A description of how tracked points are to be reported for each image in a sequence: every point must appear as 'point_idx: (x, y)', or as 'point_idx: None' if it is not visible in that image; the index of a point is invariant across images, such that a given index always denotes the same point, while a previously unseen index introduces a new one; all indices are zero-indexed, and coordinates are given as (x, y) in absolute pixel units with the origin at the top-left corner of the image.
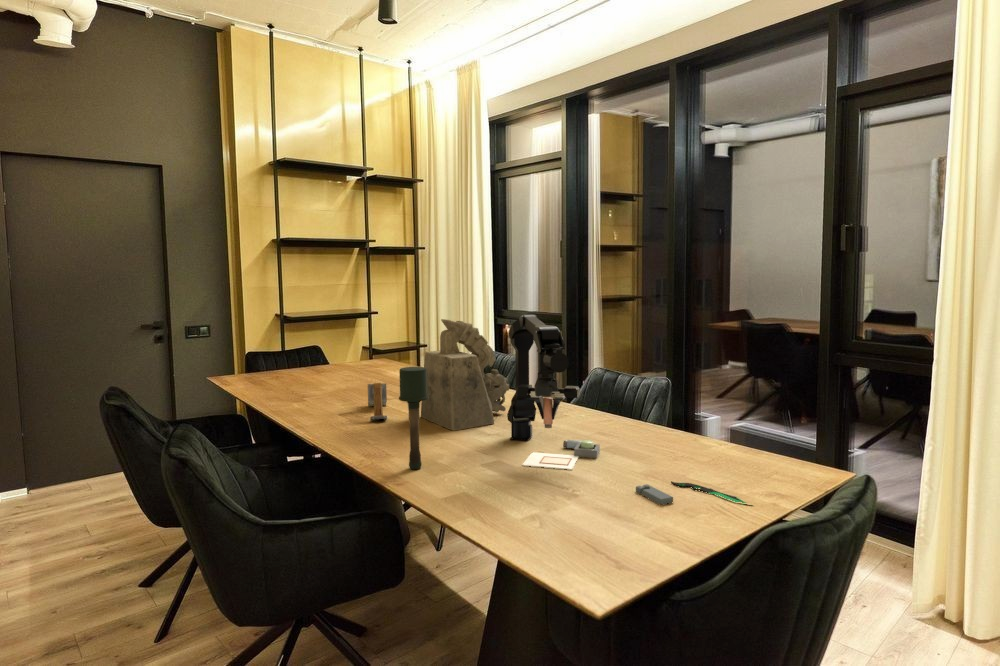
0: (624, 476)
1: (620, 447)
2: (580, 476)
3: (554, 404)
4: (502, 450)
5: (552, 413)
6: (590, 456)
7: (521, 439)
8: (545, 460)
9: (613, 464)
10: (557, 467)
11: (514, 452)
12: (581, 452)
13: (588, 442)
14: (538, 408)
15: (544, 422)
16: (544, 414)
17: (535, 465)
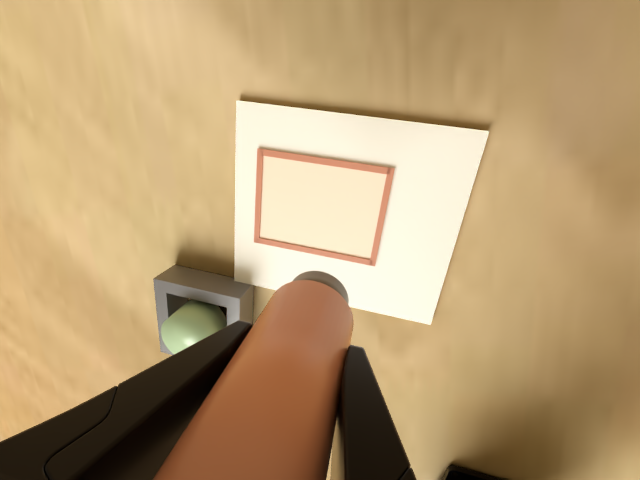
0: (38, 52)
1: (132, 375)
2: (190, 8)
3: (40, 474)
4: (581, 366)
5: (208, 360)
6: (192, 272)
7: (478, 476)
8: (365, 208)
9: (109, 201)
10: (301, 109)
11: (518, 337)
12: (217, 285)
13: (179, 334)
14: (412, 476)
15: (339, 306)
16: (320, 366)
17: (413, 126)
